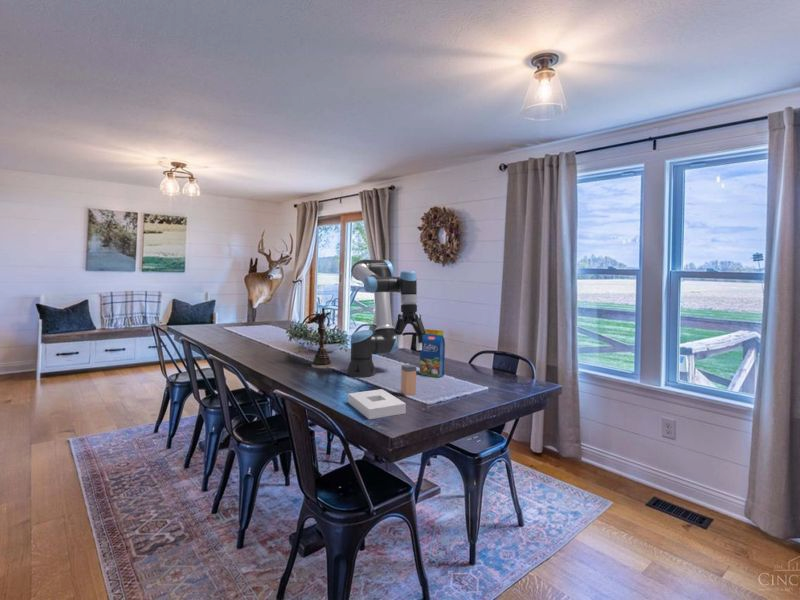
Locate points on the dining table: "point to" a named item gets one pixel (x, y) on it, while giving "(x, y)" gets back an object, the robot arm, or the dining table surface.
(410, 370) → the plug
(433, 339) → the blue food package
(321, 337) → the bird statue
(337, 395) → the dining table surface
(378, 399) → the socket
